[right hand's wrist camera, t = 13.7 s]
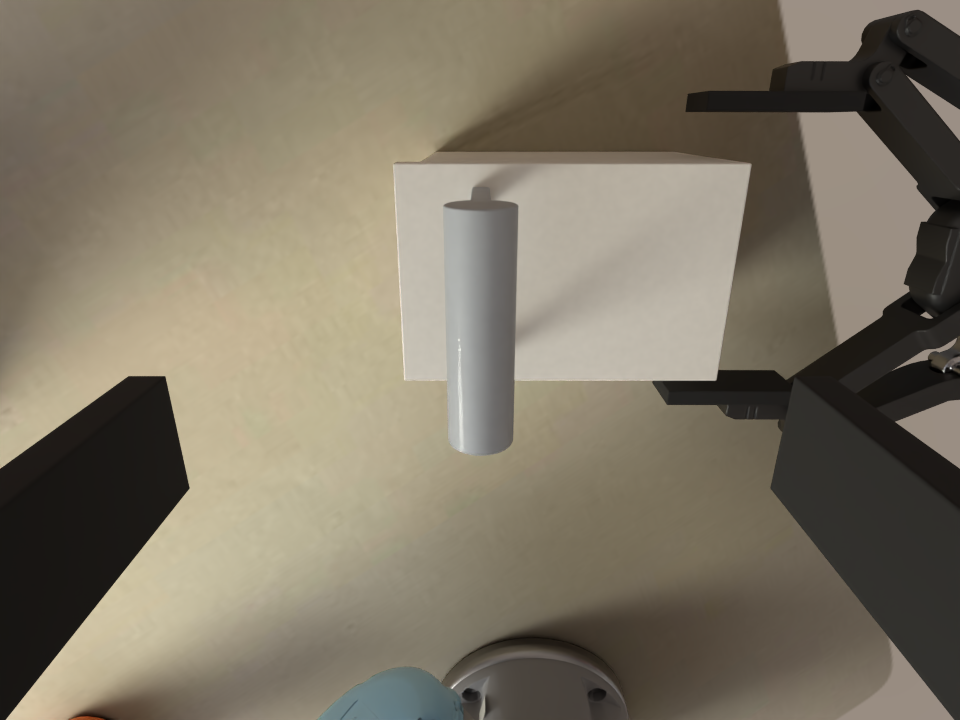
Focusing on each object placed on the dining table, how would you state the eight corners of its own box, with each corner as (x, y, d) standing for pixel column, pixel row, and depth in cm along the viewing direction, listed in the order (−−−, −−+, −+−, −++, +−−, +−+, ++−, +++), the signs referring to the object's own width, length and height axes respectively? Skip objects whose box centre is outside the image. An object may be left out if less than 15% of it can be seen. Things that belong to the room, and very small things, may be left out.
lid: (406, 373, 27) (375, 475, 19) (395, 161, 24) (353, 181, 16) (709, 373, 27) (803, 476, 19) (743, 161, 24) (874, 181, 16)
